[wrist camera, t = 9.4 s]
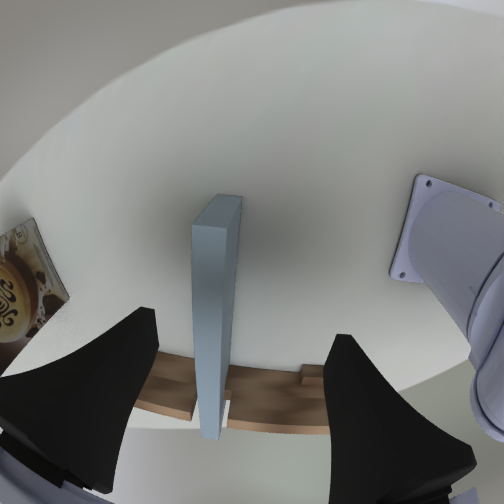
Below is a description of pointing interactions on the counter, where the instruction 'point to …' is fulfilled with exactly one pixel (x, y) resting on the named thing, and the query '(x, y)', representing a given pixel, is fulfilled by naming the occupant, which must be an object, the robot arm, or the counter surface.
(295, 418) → the walnut slotted plate
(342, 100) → the counter surface
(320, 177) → the counter surface
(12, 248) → the coffee box
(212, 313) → the grey notched plate
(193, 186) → the counter surface
